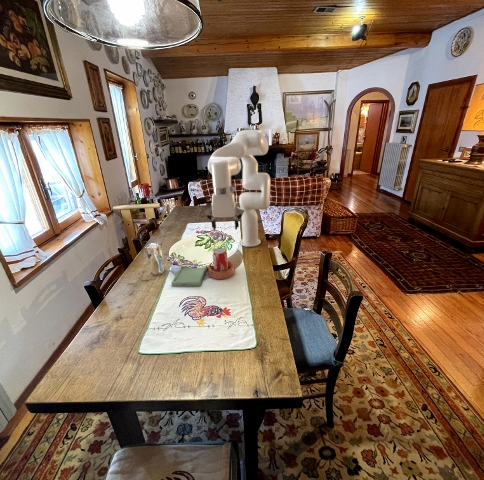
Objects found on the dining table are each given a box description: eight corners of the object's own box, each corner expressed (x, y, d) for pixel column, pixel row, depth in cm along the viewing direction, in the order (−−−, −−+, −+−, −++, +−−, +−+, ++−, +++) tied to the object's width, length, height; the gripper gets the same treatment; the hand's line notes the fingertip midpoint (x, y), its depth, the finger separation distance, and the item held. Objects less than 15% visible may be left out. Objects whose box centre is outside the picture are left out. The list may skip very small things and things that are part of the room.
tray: (182, 267, 133) (182, 263, 132) (207, 267, 132) (206, 263, 131) (172, 286, 118) (171, 282, 117) (199, 286, 116) (199, 282, 116)
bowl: (211, 266, 132) (210, 259, 131) (235, 266, 131) (234, 259, 130) (206, 279, 121) (206, 272, 119) (232, 279, 120) (232, 272, 118)
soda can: (226, 276, 122) (224, 254, 117) (212, 275, 123) (210, 253, 119) (230, 268, 128) (228, 247, 123) (216, 268, 130) (214, 247, 125)
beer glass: (167, 268, 133) (162, 242, 127) (162, 275, 126) (156, 248, 120) (154, 268, 134) (149, 242, 127) (149, 275, 127) (143, 248, 121)
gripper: (243, 187, 108) (245, 225, 115) (203, 189, 109) (207, 226, 116) (242, 191, 101) (244, 231, 108) (200, 193, 103) (204, 232, 110)
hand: (225, 228), depth 112 cm, fingers open, 9 cm apart
